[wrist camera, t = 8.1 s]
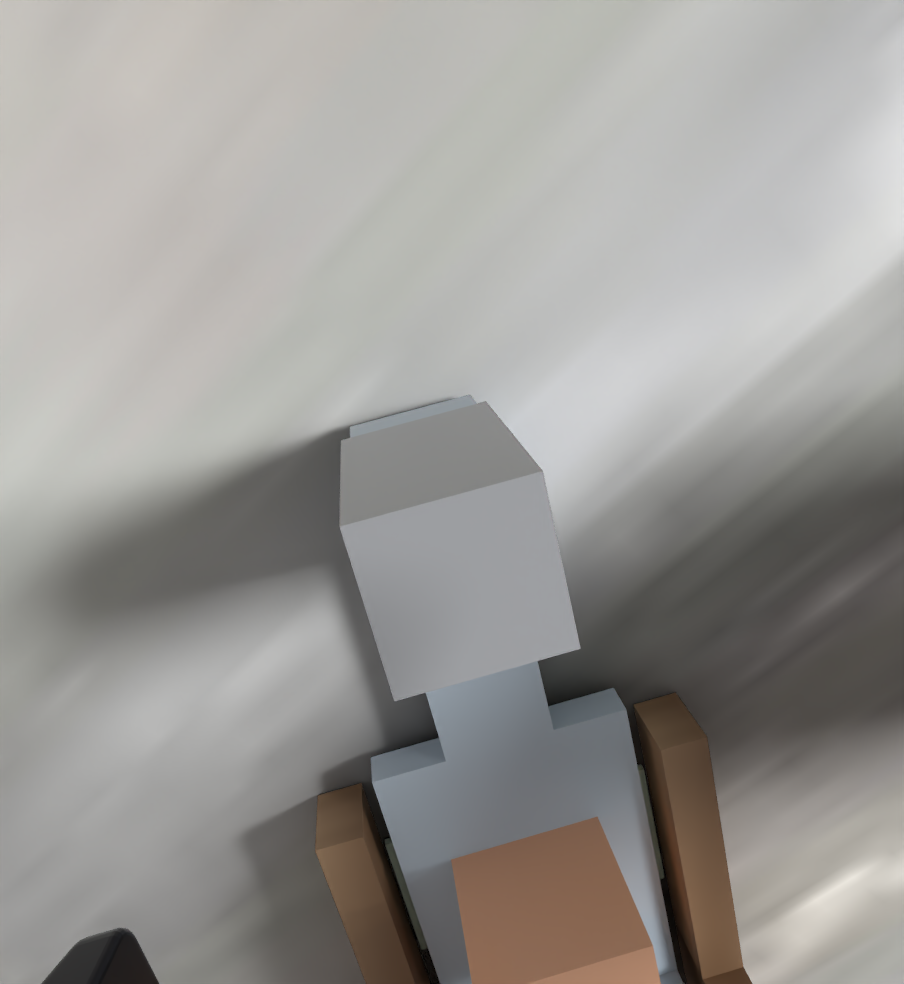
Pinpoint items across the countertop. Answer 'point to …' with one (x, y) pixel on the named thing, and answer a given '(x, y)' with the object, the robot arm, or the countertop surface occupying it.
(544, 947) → the block
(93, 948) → the robot arm
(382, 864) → the tunnel channel
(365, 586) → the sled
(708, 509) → the countertop surface
